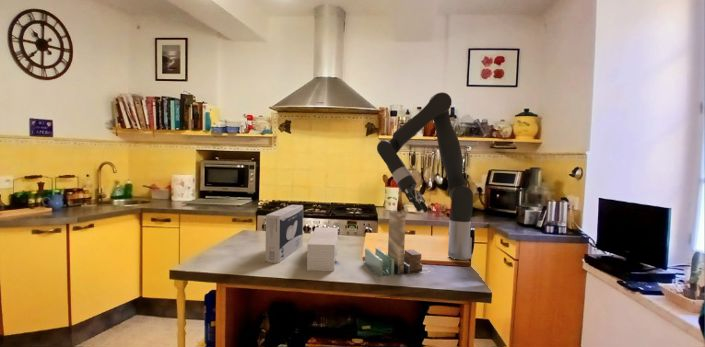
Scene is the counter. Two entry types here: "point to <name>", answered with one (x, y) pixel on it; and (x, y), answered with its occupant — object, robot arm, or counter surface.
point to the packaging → (283, 232)
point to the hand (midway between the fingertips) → (423, 211)
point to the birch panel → (396, 238)
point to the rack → (387, 264)
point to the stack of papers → (322, 249)
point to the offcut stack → (413, 259)
